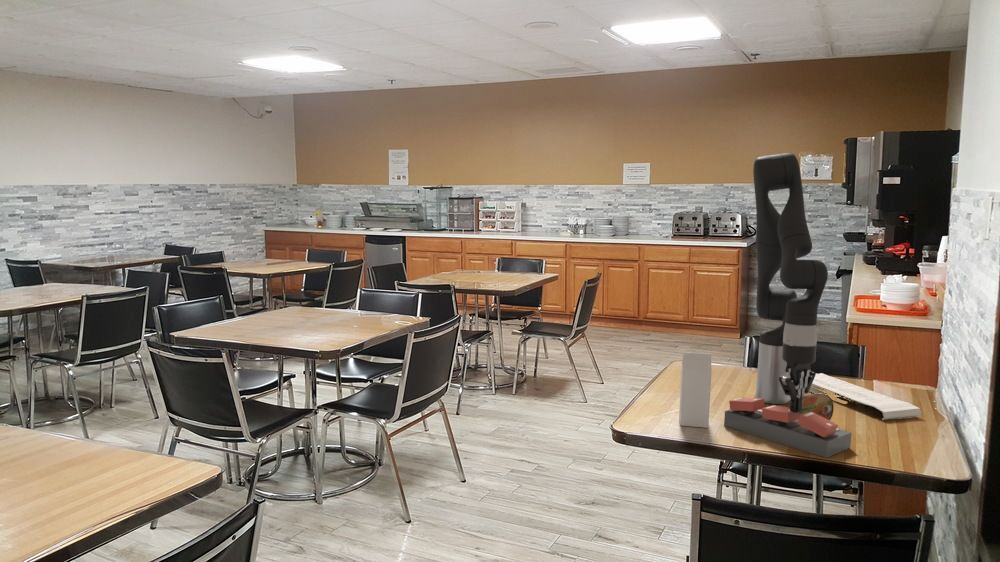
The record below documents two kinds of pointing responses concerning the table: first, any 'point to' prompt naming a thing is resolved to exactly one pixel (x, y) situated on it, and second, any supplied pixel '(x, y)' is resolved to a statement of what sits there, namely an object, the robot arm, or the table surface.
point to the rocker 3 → (817, 424)
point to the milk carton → (695, 389)
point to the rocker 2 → (779, 414)
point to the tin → (817, 405)
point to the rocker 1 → (747, 404)
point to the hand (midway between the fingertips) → (795, 411)
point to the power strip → (788, 433)
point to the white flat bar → (865, 397)
